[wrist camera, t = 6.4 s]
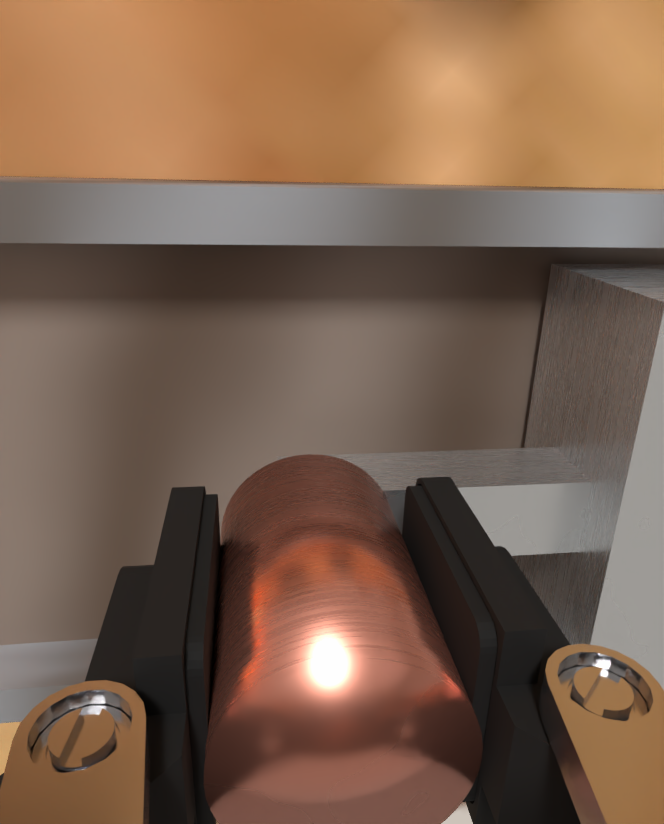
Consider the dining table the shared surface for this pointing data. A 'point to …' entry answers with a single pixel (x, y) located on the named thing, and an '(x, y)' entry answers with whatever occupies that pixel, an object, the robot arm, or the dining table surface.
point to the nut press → (248, 356)
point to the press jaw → (402, 589)
